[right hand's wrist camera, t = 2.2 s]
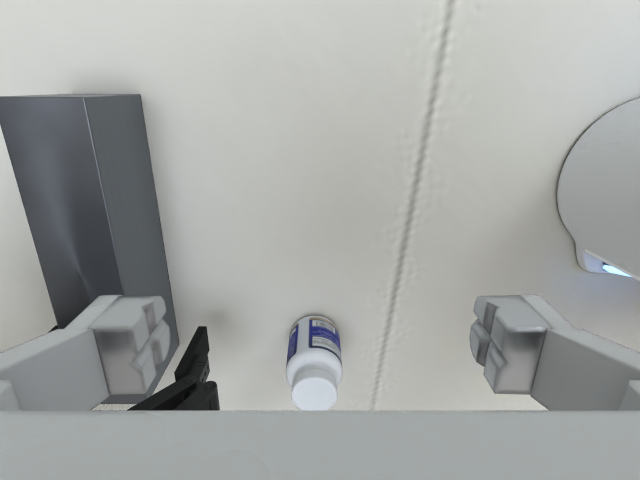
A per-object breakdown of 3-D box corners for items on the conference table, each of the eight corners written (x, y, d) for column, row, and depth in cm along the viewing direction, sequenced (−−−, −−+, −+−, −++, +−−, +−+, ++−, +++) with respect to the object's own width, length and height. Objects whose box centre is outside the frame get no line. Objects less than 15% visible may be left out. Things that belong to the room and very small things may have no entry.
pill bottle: (305, 362, 43) (301, 427, 35) (280, 326, 42) (271, 386, 33) (348, 343, 42) (355, 405, 34) (325, 306, 41) (326, 362, 32)
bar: (70, 94, 33) (-9, 96, 25) (140, 94, 33) (83, 96, 25) (124, 344, 43) (79, 404, 35) (179, 344, 43) (147, 404, 35)
